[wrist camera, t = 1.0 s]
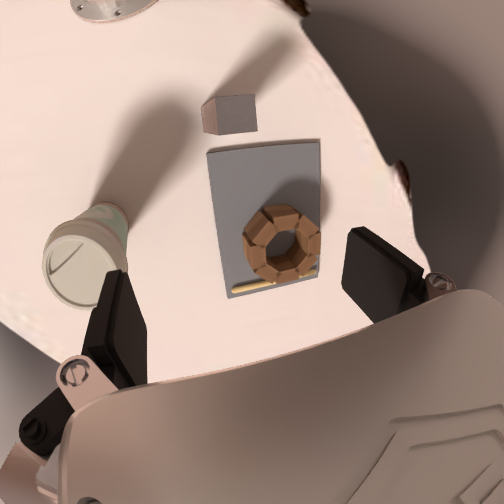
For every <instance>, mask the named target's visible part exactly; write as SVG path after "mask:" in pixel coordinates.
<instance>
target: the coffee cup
mask: <svg viewBox="0 0 504 504" xmlns="http://www.w3.org/2000/svg"><path fill="white" fill-rule="evenodd" d="M127 236H128V220H127V217H126V215H125V213H124V212H123V210H122V209H121V208H120V207H118V206H117V205H115V204H113V203H109V202H102V203H98V204H96V205H94V206H93V207H91V208H89V209H88V210H86V211H85V212H83V213H82V214H80V215H79V216H77V217H76V218H74V219H73V220H70V221H67V222H64V223H62V224H61V225H59V226H58V227H57V228H55V229H54V230H53V232H52V233H51V234H50V236H49V238H48V240H47V242H46V244H45V247H44V252H43V261H42V270H43V275H44V278H45V281H46V283H47V285H48V287H49V289H50V290H51V292H52V293H53V294H54V295H55V296H56V297H57V298H58V299H59V300H60V301H62V302H63V303H64V304H66V305H68V306H70V307H72V308H75V309H79V310H85V311H90V310H93V308H94V307H97V303H98V299H99V296H100V292H101V289H102V286H103V283H104V279H105V276H106V273H107V272H108V271H113V270H118V269H121V270H122V271H123V272H127V274H128V263H127V258H126V248H127Z"/></svg>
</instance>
